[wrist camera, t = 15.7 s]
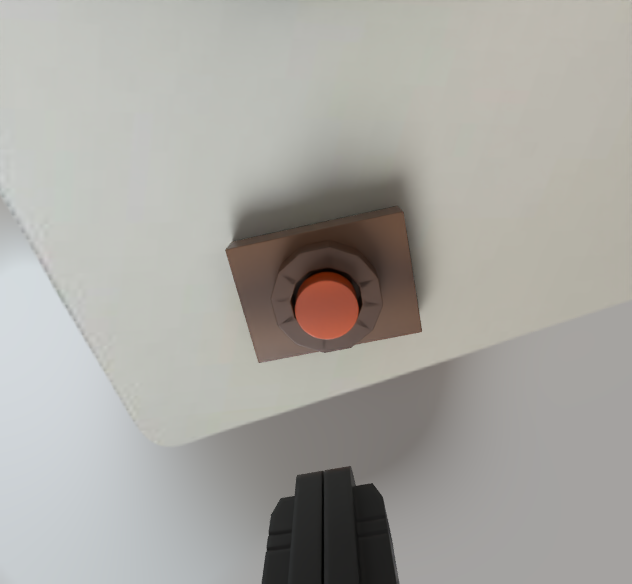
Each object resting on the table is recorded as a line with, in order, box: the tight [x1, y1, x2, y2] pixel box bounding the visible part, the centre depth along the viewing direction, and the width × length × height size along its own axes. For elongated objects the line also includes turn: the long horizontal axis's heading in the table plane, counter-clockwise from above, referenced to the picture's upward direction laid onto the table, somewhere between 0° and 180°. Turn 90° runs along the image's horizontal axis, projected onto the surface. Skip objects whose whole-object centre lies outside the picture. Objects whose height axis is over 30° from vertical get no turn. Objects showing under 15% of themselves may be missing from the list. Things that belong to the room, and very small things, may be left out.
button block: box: [225, 206, 422, 363], centre depth 28 cm, size 8×11×4 cm
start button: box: [295, 272, 359, 339], centre depth 26 cm, size 4×4×2 cm
